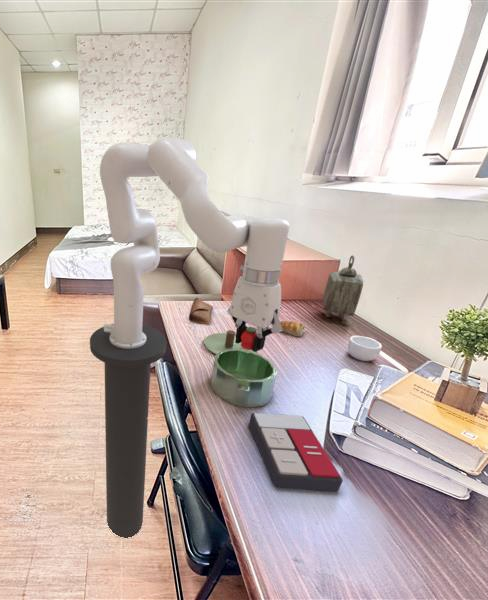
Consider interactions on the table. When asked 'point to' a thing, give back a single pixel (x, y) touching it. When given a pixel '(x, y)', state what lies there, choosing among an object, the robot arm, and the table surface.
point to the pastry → (292, 328)
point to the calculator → (293, 453)
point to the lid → (222, 342)
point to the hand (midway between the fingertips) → (248, 345)
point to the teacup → (363, 348)
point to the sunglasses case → (200, 312)
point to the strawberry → (248, 338)
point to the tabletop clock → (343, 292)
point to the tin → (243, 377)
